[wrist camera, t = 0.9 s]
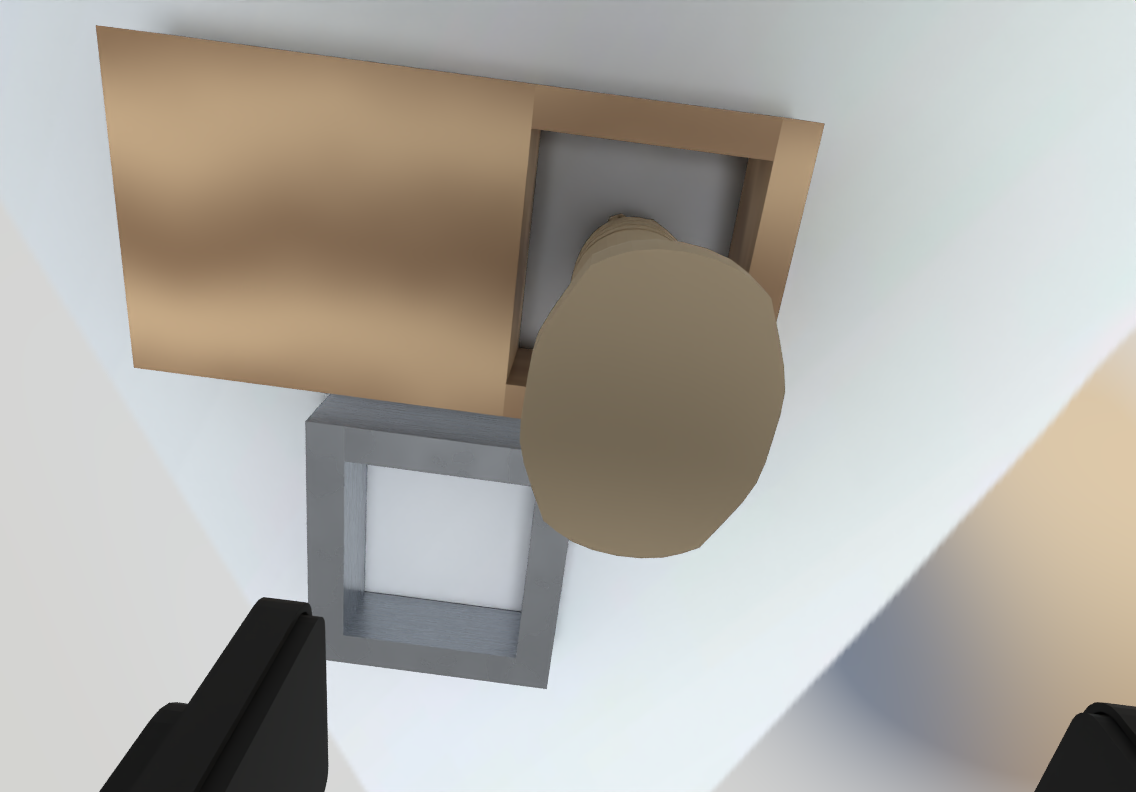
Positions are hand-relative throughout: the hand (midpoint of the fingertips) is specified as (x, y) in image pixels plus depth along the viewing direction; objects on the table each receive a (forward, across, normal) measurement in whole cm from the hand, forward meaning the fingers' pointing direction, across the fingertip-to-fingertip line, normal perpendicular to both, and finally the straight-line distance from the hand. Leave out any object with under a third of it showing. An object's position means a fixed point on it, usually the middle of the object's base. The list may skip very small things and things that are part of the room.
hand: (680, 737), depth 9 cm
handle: (+21, 0, -1) cm, 21 cm away
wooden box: (+21, +6, -2) cm, 22 cm away
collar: (+21, +6, +12) cm, 25 cm away
